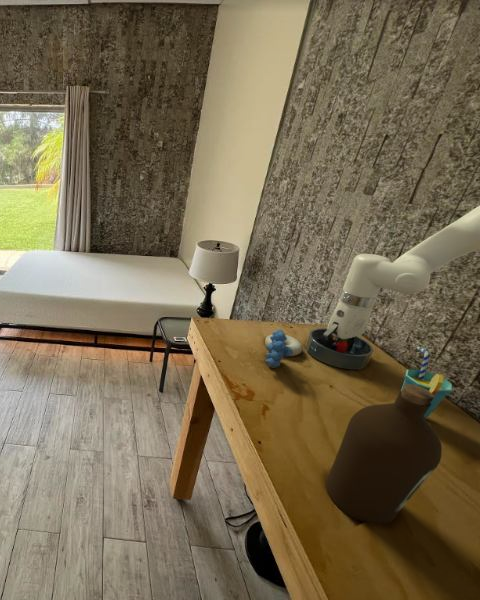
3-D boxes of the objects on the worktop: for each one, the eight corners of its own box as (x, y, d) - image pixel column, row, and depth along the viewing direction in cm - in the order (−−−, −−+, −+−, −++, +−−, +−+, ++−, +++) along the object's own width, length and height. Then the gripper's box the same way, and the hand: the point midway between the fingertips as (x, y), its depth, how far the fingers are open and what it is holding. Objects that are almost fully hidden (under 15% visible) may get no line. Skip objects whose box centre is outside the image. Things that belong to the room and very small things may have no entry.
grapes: (289, 382, 85) (301, 345, 80) (260, 375, 88) (271, 338, 83) (286, 359, 95) (298, 324, 89) (261, 353, 97) (270, 319, 92)
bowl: (327, 337, 105) (331, 324, 103) (379, 363, 92) (386, 349, 90) (293, 347, 100) (297, 333, 98) (343, 375, 87) (349, 360, 85)
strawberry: (332, 348, 99) (338, 332, 96) (347, 355, 95) (353, 339, 92) (322, 351, 97) (328, 335, 95) (336, 359, 94) (343, 342, 91)
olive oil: (317, 503, 56) (370, 394, 46) (324, 462, 63) (372, 360, 53) (398, 546, 50) (482, 432, 39) (396, 495, 57) (466, 387, 46)
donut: (291, 341, 103) (259, 339, 105) (294, 332, 102) (261, 330, 103) (306, 360, 94) (271, 357, 96) (310, 350, 93) (274, 347, 94)
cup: (375, 389, 82) (399, 340, 76) (414, 398, 79) (442, 348, 73) (397, 428, 71) (427, 375, 64) (444, 440, 68) (480, 385, 61)
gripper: (350, 309, 82) (327, 365, 90) (392, 299, 87) (368, 352, 95) (321, 298, 89) (303, 351, 96) (363, 289, 94) (342, 340, 102)
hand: (335, 351), depth 96 cm, fingers open, 6 cm apart
